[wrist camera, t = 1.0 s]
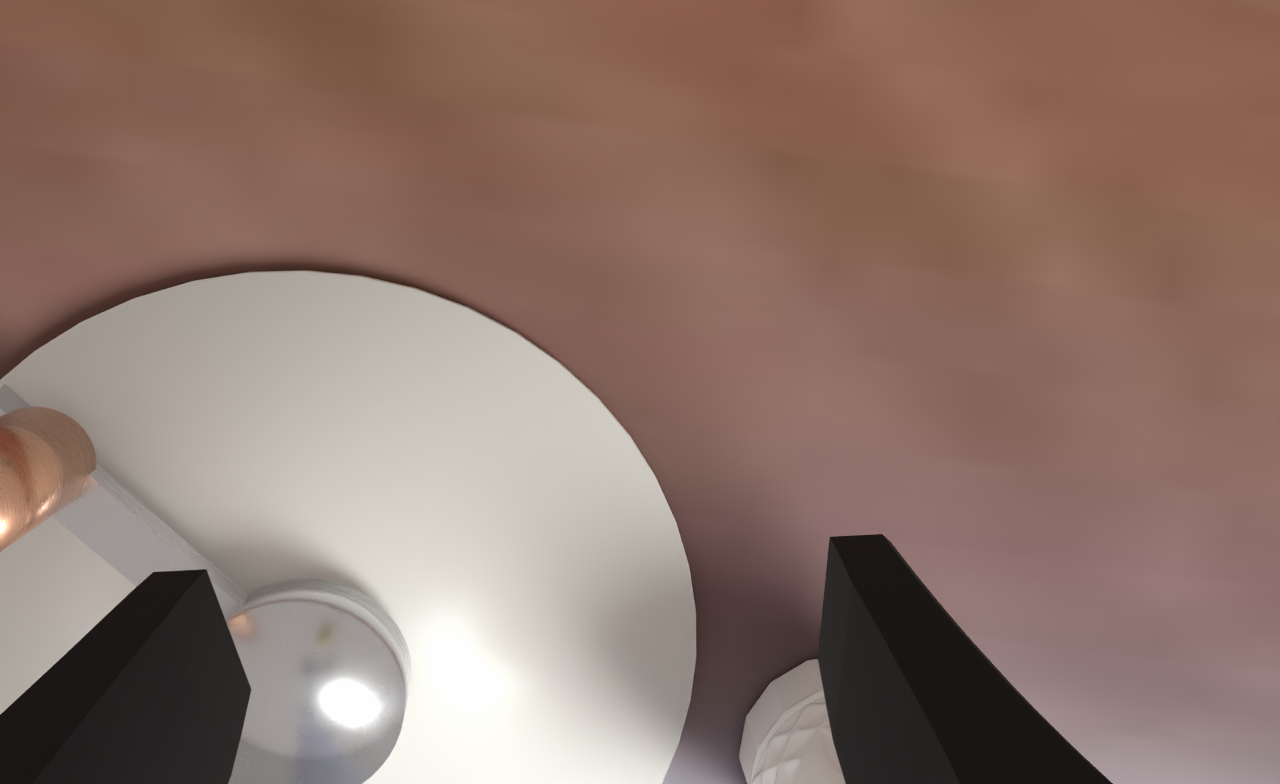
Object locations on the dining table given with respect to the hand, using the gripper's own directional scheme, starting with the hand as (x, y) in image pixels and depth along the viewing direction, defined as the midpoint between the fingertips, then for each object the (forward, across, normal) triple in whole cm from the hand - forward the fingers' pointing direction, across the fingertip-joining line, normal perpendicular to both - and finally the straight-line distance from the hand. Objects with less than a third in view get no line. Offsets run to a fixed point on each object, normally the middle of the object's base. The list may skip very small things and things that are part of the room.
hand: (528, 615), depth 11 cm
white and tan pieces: (+14, +12, +12) cm, 22 cm away
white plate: (+14, +9, +16) cm, 23 cm away
